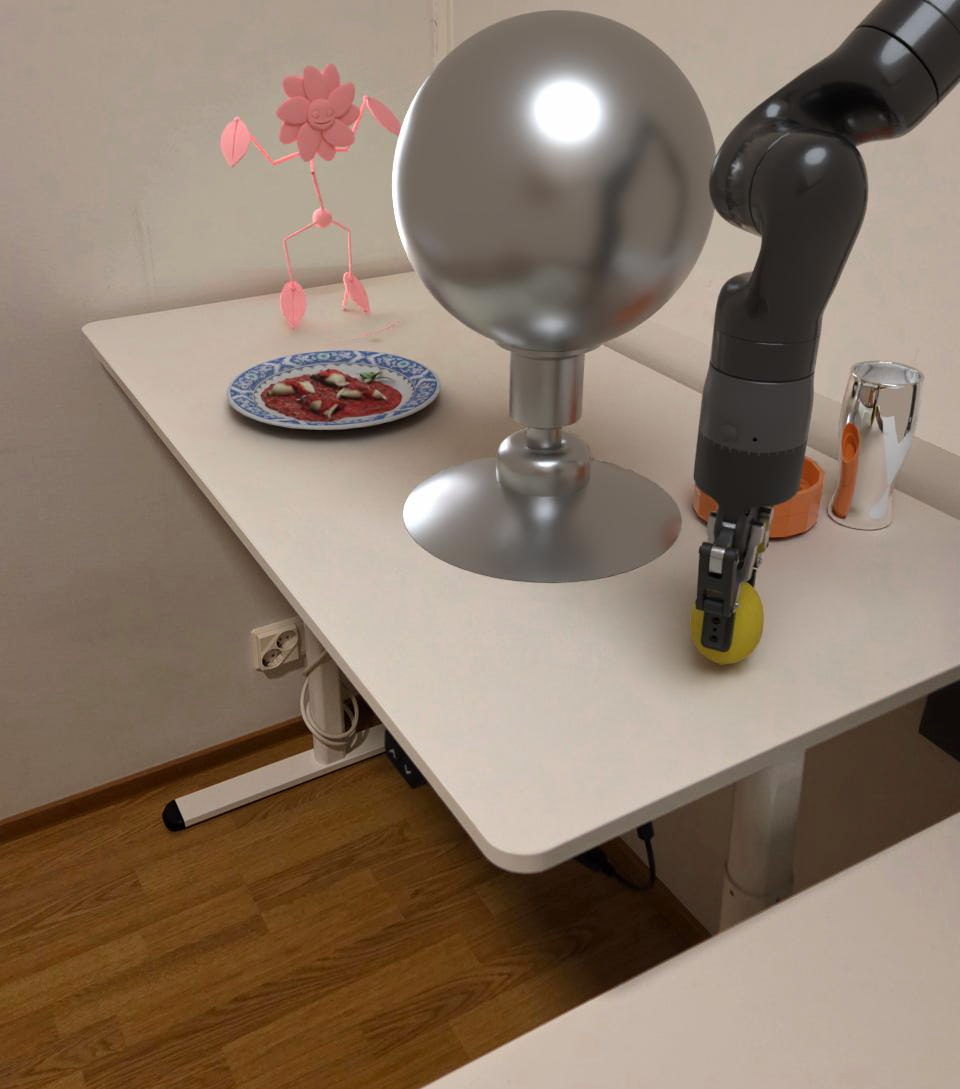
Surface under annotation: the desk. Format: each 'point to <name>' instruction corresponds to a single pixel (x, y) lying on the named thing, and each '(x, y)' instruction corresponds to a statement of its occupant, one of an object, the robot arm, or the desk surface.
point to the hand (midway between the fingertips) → (726, 626)
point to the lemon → (744, 628)
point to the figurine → (313, 154)
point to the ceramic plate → (333, 389)
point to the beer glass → (874, 440)
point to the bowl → (787, 515)
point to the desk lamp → (551, 271)
